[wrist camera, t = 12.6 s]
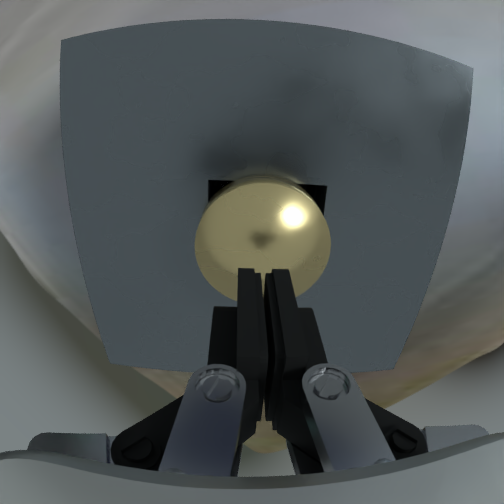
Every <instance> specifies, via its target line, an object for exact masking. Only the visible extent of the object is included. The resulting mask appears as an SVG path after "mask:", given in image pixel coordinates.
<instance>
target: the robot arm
mask: <svg viewBox="0 0 504 504" xmlns="http://www.w3.org/2000/svg"><path fill="white" fill-rule="evenodd" d="M263 400H264V403H265V418H266V421H272V426H273V430H277V433H279V434H280V435H281V436H283V437H284V438H286V443H287V448H288V451H289V455H290V458H291V462H292V465H293V468H294V472H295V475H290V476H269V477H238V471H239V465H240V459H241V454H242V448H243V443H244V442H245V441H246V440H247V439H249V438H250V437H251V436H252V435H253V434H255V431H256V422H257V421H261V415H262V407H263ZM0 504H504V432H502V433H495V434H490V435H489V433H488V432H487V431H486V430H485V429H484V428H483V427H481V426H479V425H458V426H426V427H424V429H419V428H417V427H416V426H414V425H413V424H411V423H409V422H407V421H405V420H403V419H402V418H400V417H398V416H396V415H394V414H392V413H391V412H389V411H387V410H385V409H383V408H381V407H380V406H378V405H376V404H374V403H372V402H371V401H369V400H367V399H365V398H364V396H363V394H362V392H361V390H360V388H359V386H358V384H357V383H356V381H355V379H354V377H353V376H352V375H351V373H350V372H349V371H347V370H346V369H345V368H343V367H341V366H338V365H335V364H329V363H328V361H327V358H326V354H325V350H324V347H323V343H322V340H321V336H320V332H319V329H318V325H317V322H316V318H315V315H314V311H313V309H312V308H298V305H297V301H296V297H295V293H294V288H293V284H292V280H291V276H290V272H289V269H272V271H271V273H266V274H265V284H264V297H263V290H262V280H261V273H255V269H254V268H238V287H237V307H229V306H214V307H213V315H212V325H211V334H210V343H209V353H208V363H207V365H206V366H204V367H201V368H199V369H198V370H196V371H195V372H194V373H193V374H192V376H191V377H190V379H189V381H188V384H187V387H186V390H185V393H184V395H183V396H181V397H179V398H178V399H176V400H175V401H173V402H171V403H170V404H168V405H167V406H165V407H163V408H162V409H160V410H158V411H157V412H155V413H153V414H152V415H150V416H148V417H147V418H145V419H143V420H142V421H140V422H138V423H136V424H135V425H133V426H132V427H130V428H128V429H126V430H124V431H123V432H121V433H120V434H119V435H118V436H109V437H108V436H107V434H75V433H74V434H73V433H41V434H39V435H37V436H35V437H34V438H33V439H32V440H31V441H30V443H29V446H28V449H27V450H15V451H6V452H2V453H0Z"/></svg>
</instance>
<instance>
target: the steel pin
mask: <svg viewBox="0 0 504 504" xmlns="http://www.w3.org/2000/svg"><path fill="white" fill-rule="evenodd" d="M330 249H331V237H330V231H329V228H328V225H327V222H326V220H325V218H324V216H323V214H322V212H321V211H320V209H319V207H318V205H317V204H316V202H315V201H314V199H313V198H312V197H311V195H310V194H309V193H308V192H307V191H306V190H304V189H303V188H302V187H301V186H299V185H298V184H296V183H294V182H292V181H290V180H288V179H285V178H282V177H278V176H274V175H252V176H247V177H243V178H240V179H237V180H235V181H233V180H230V182H229V184H227V185H226V186H224V187H223V188H222V189H220V190H219V191H218V192H217V193H216V194H215V195H214V196H213V197H212V198H211V200H210V201H209V202H208V204H207V206H206V207H205V209H204V211H203V214H202V217H201V220H200V223H199V226H198V229H197V232H196V237H195V256H196V260H197V263H198V266H199V268H200V271H201V272H202V274H203V276H204V277H205V279H206V280H207V281H208V282H209V284H210V285H211V286H213V287H214V288H215V289H216V290H217V291H218V292H220V293H221V294H223V295H224V296H226V297H228V298H230V299H232V300H235V301H237V287H238V268H254V269H255V273H261V280H262V290H263V297H264V284H265V274H266V273H271V271H272V269H289V272H290V276H291V280H292V284H293V288H294V293H295V297H297V296H299V295H300V294H302V293H304V292H305V291H306V290H308V289H309V288H310V287H311V286H312V285H313V284H314V283H315V282H316V281H317V280H318V279H319V277H320V276H321V274H322V273H323V271H324V269H325V267H326V265H327V262H328V259H329V255H330Z"/></svg>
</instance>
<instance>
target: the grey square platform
mask: <svg viewBox="0 0 504 504" xmlns="http://www.w3.org/2000/svg"><path fill="white" fill-rule="evenodd" d="M472 82H473V68H471V67H469V66H467V65H464V64H462V63H459V62H456V61H454V60H451V59H448V58H446V57H443V56H440V55H437V54H434V53H431V52H428V51H425V50H422V49H419V48H416V47H412V46H409V45H406V44H402V43H399V42H395V41H391V40H387V39H383V38H379V37H375V36H371V35H366V34H361V33H357V32H352V31H346V30H341V29H335V28H329V27H323V26H316V25H308V24H300V23H290V22H280V21H266V20H244V19H205V20H183V21H170V22H159V23H149V24H141V25H134V26H127V27H121V28H115V29H109V30H104V31H99V32H94V33H89V34H84V35H80V36H76V37H72V38H68V39H64V40H61V54H60V112H61V132H62V145H63V156H64V166H65V175H66V183H67V190H68V197H69V204H70V210H71V216H72V222H73V227H74V233H75V238H76V243H77V248H78V253H79V257H80V262H81V266H82V270H83V274H84V278H85V282H86V286H87V290H88V294H89V298H90V301H91V305H92V309H93V312H94V315H95V319H96V322H97V325H98V329H99V332H100V335H101V338H102V341H103V344H104V347H105V350H106V353H107V356H108V359H109V362H110V363H112V364H119V365H126V366H134V367H142V368H151V369H161V370H171V371H183V372H195V371H196V370H198V369H199V368H201V367H204V366H206V365H207V363H208V353H209V343H210V334H211V325H212V315H213V307H214V306H229V307H237V301H235V300H232V299H230V298H228V297H226V296H224V295H223V294H221V293H220V292H218V291H217V290H216V289H215V288H214V287H213V286H211V285H210V284H209V282H208V281H207V280H206V279H205V277H204V276H203V274H202V272H201V271H200V268H199V266H198V263H197V260H196V256H195V237H196V232H197V229H198V226H199V223H200V220H201V217H202V214H203V211H204V209H205V207H206V206H207V204H208V202H209V201H210V200H211V198H212V197H213V196H214V195H215V194H216V193H217V192H218V191H219V190H220V189H221V180H233V181H235V180H237V179H240V178H243V177H247V176H252V175H274V176H278V177H282V178H285V179H288V180H290V181H292V182H294V183H296V184H298V185H299V186H301V187H302V188H303V189H304V190H306V191H307V192H308V193H309V194H310V195H311V197H312V198H313V199H314V201H315V202H316V204H317V205H318V207H319V209H320V211H321V212H322V214H323V216H324V218H325V220H326V222H327V225H328V228H329V231H330V237H331V249H330V255H329V259H328V262H327V265H326V267H325V269H324V271H323V273H322V274H321V276H320V277H319V279H318V280H317V281H316V282H315V283H314V284H313V285H312V286H311V287H310V288H309V289H308V290H306V291H305V292H304V293H302V294H300V295H299V296H297V297H296V301H297V305H298V308H312V309H313V311H314V315H315V318H316V322H317V325H318V329H319V332H320V336H321V340H322V343H323V347H324V350H325V354H326V358H327V361H328V363H329V364H335V365H338V366H341V367H343V368H345V369H346V370H347V371H349V372H350V373H354V372H368V371H379V370H390V369H394V366H395V364H396V362H397V360H398V358H399V356H400V354H401V352H402V349H403V347H404V345H405V343H406V340H407V338H408V336H409V334H410V331H411V329H412V326H413V324H414V322H415V319H416V317H417V314H418V312H419V309H420V307H421V304H422V301H423V299H424V296H425V293H426V291H427V288H428V285H429V282H430V280H431V277H432V274H433V271H434V268H435V265H436V262H437V259H438V256H439V252H440V249H441V246H442V243H443V239H444V236H445V232H446V229H447V225H448V221H449V218H450V214H451V210H452V206H453V202H454V198H455V194H456V189H457V185H458V180H459V175H460V170H461V165H462V160H463V154H464V148H465V142H466V136H467V129H468V122H469V114H470V105H471V94H472Z"/></svg>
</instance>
